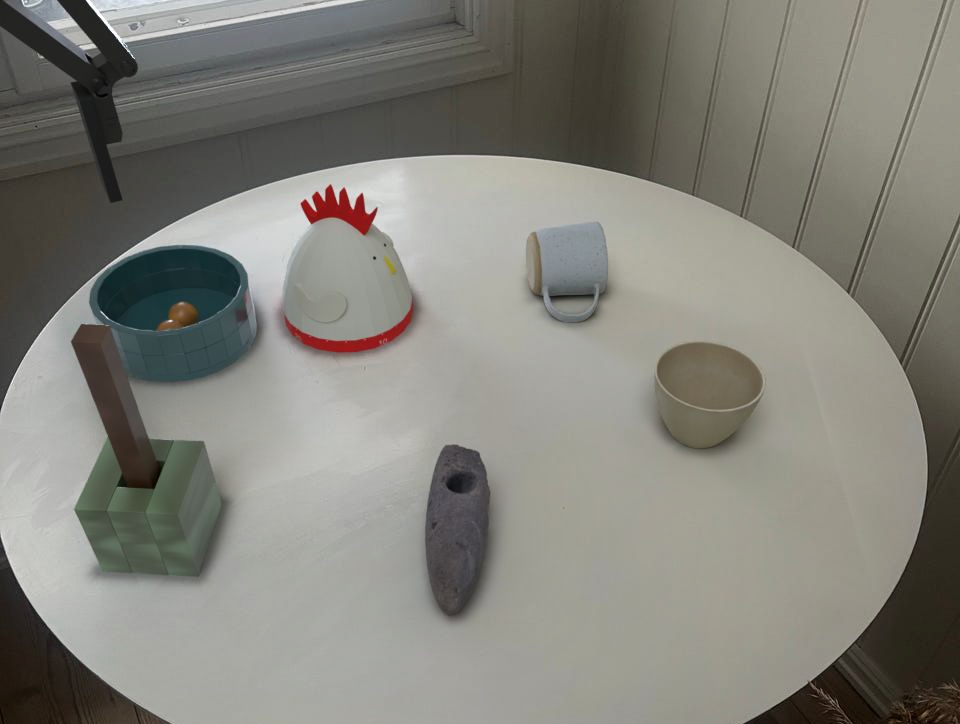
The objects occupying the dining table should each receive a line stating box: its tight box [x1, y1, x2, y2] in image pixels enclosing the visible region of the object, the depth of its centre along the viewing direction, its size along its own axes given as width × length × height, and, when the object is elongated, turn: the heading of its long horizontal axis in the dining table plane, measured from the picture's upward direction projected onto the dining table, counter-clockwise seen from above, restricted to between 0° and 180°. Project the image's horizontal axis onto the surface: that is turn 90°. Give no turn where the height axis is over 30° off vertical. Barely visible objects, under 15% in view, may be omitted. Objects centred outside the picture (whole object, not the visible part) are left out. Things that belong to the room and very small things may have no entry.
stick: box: [70, 323, 161, 489], centre depth 71 cm, size 2×2×22 cm
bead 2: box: [168, 302, 199, 327], centre depth 96 cm, size 3×3×3 cm
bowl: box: [88, 244, 258, 383], centre depth 96 cm, size 16×16×6 cm
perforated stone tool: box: [424, 444, 491, 617], centre depth 75 cm, size 15×5×7 cm, turn 175°
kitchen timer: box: [281, 183, 414, 354], centre depth 95 cm, size 14×14×15 cm
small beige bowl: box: [653, 340, 767, 449], centre depth 86 cm, size 10×10×7 cm
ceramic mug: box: [525, 221, 609, 324], centre depth 101 cm, size 11×8×8 cm
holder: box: [73, 436, 223, 578], centre depth 76 cm, size 8×8×8 cm
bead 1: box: [156, 319, 184, 331], centre depth 94 cm, size 3×3×3 cm
